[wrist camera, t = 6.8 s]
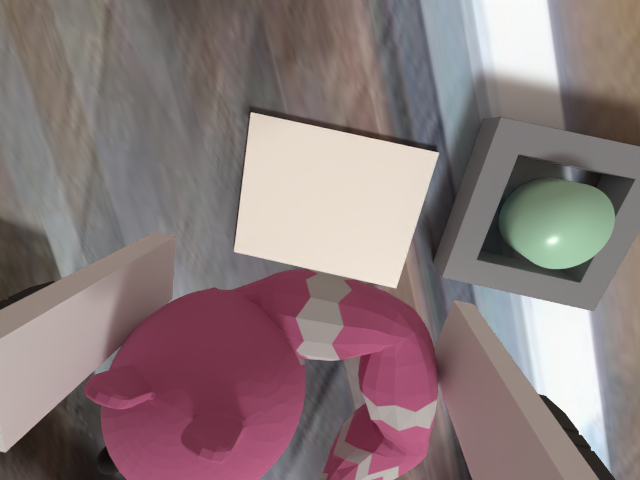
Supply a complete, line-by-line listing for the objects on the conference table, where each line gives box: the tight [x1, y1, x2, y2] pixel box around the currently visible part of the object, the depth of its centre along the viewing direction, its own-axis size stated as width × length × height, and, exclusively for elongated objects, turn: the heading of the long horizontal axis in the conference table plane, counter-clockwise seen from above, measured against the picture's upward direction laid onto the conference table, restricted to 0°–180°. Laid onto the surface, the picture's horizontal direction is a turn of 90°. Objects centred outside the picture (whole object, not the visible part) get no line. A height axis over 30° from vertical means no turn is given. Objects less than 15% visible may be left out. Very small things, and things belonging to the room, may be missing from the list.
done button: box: [499, 177, 615, 269], centre depth 23 cm, size 6×6×3 cm
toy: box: [84, 269, 438, 480], centre depth 11 cm, size 11×9×10 cm
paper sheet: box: [234, 112, 439, 288], centre depth 27 cm, size 15×12×1 cm
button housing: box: [433, 117, 640, 311], centre depth 24 cm, size 12×12×3 cm
